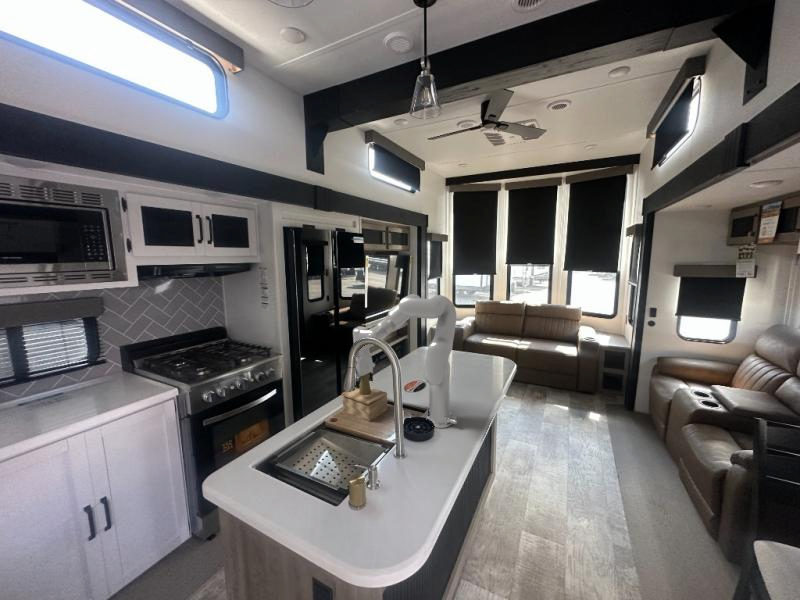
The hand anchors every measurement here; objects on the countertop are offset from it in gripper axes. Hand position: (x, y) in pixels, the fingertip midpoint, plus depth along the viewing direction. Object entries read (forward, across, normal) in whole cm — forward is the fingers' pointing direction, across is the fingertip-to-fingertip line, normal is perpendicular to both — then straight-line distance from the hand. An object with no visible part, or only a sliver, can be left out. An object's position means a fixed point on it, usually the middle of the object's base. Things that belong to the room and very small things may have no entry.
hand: (363, 384), depth 157 cm
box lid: (+6, 0, 0) cm, 6 cm away
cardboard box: (+14, 0, 0) cm, 14 cm away
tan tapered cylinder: (+5, 0, 0) cm, 5 cm away
